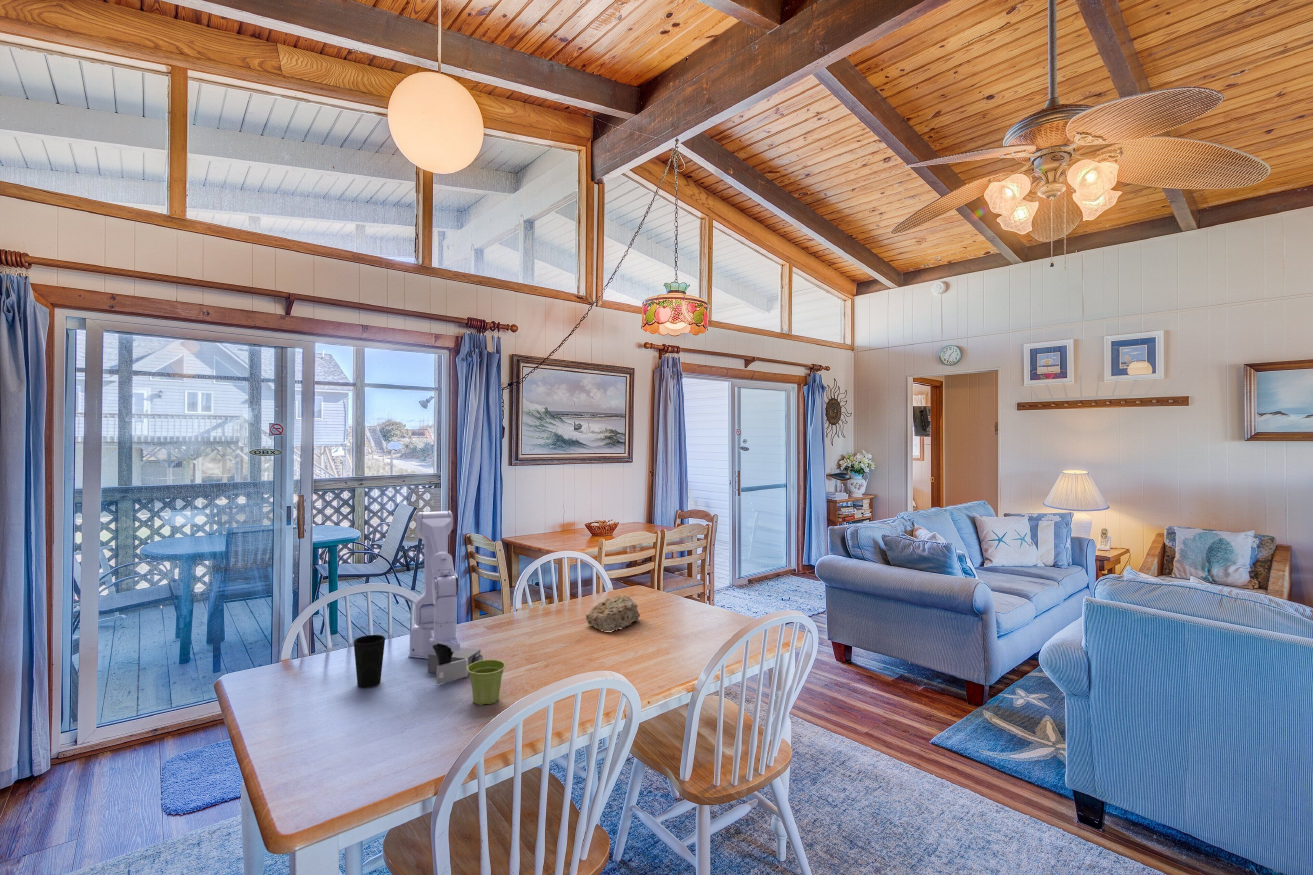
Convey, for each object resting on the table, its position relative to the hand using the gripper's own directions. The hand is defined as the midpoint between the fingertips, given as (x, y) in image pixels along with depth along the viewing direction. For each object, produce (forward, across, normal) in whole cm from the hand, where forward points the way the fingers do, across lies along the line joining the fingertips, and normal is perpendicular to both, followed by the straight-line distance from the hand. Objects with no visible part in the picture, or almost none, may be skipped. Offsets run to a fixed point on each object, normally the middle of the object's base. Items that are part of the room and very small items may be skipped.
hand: (444, 670), depth 168 cm
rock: (+4, -12, +67) cm, 68 cm away
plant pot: (+3, +18, +3) cm, 18 cm away
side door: (+3, +1, +2) cm, 4 cm away
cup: (+3, -11, -16) cm, 20 cm away
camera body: (+3, -7, +6) cm, 10 cm away
